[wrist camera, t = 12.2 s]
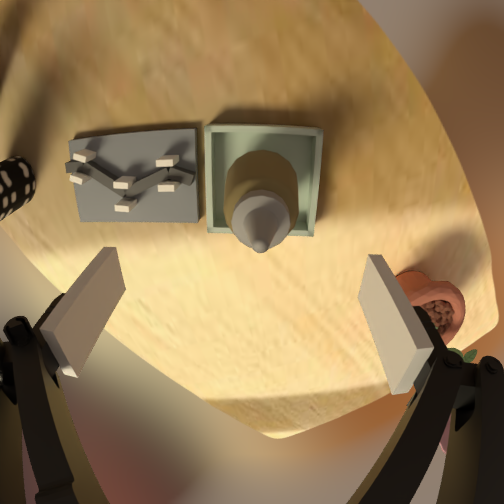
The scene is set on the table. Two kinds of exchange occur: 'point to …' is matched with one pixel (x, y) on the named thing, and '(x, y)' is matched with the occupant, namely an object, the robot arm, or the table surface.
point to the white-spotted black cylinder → (15, 185)
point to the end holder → (271, 139)
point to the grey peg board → (136, 176)
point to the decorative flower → (438, 313)
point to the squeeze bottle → (261, 199)
